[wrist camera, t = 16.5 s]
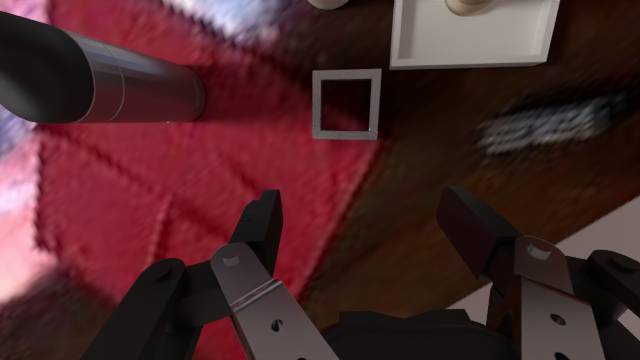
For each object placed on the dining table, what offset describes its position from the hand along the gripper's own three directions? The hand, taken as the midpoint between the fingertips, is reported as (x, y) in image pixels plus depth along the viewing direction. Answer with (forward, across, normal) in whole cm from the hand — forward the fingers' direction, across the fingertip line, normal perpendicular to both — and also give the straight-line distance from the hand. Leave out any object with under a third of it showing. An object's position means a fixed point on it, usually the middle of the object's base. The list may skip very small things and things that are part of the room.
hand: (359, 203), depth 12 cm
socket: (+27, -2, +1) cm, 27 cm away
